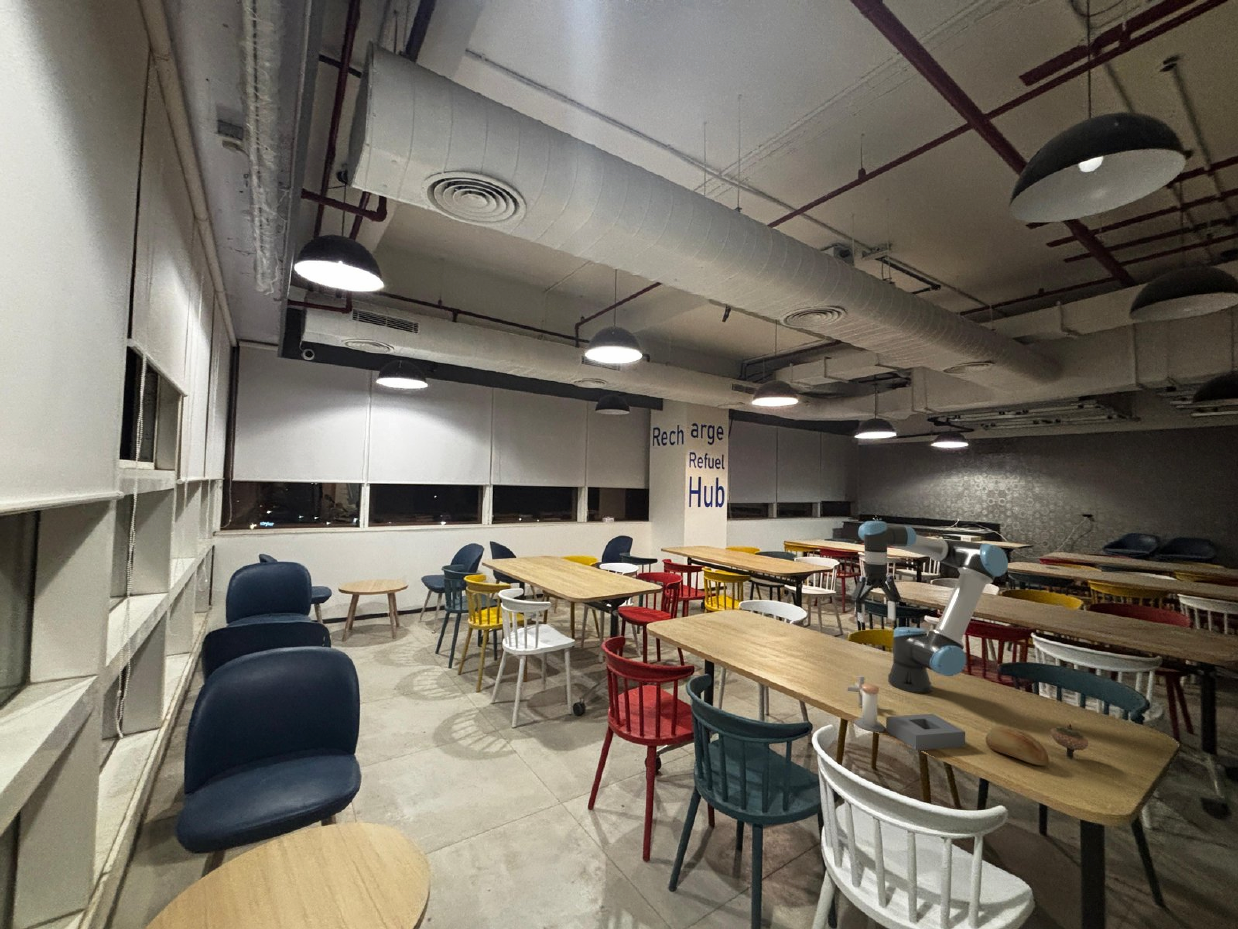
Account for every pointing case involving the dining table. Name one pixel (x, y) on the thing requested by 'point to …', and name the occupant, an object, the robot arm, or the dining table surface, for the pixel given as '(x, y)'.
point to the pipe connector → (857, 688)
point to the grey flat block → (925, 731)
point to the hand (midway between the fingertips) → (876, 620)
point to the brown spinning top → (1069, 739)
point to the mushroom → (869, 705)
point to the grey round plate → (873, 729)
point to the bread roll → (1017, 745)
